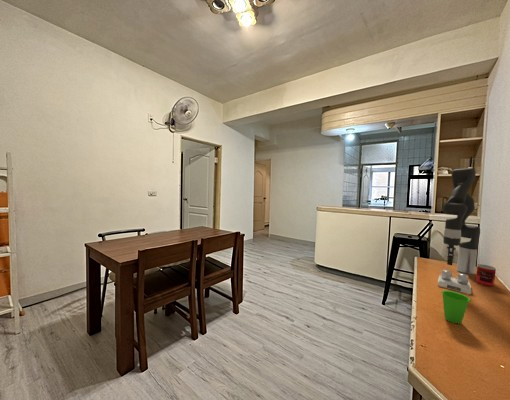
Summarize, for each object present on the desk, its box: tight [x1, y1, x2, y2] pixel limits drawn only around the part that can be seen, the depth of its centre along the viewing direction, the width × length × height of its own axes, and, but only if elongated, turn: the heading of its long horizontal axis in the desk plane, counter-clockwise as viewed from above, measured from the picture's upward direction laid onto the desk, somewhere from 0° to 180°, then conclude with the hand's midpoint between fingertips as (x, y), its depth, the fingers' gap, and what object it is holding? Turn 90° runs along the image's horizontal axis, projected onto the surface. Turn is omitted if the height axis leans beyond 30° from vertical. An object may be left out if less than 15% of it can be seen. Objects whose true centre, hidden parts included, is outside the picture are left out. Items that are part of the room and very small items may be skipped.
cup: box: [441, 289, 471, 325], centre depth 91 cm, size 9×9×11 cm
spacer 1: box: [441, 269, 453, 281], centre depth 130 cm, size 4×4×5 cm
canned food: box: [475, 263, 497, 288], centre depth 133 cm, size 8×8×11 cm
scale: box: [437, 274, 472, 295], centre depth 127 cm, size 15×14×3 cm
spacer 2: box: [456, 272, 470, 285], centre depth 125 cm, size 4×4×5 cm
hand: (449, 263), depth 130 cm, fingers open, 8 cm apart
